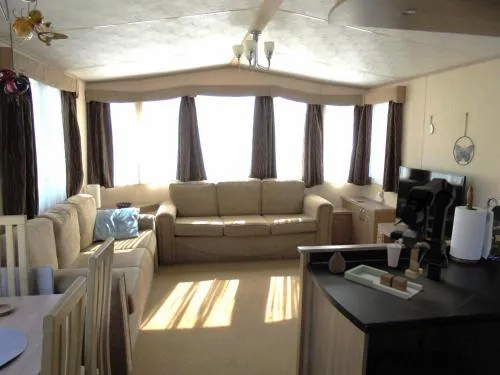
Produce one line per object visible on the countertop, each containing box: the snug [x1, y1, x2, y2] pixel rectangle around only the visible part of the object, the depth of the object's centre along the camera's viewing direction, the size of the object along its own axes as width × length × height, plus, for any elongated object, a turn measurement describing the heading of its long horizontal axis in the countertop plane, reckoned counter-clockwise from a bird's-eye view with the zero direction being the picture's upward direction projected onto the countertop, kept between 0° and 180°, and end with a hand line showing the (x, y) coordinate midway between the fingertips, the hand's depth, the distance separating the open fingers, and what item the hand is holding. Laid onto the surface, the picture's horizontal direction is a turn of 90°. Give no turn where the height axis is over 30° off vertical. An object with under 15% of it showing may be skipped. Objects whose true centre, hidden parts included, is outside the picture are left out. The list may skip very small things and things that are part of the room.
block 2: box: [392, 275, 409, 292], centre depth 142 cm, size 4×4×4 cm
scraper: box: [404, 247, 424, 279], centre depth 137 cm, size 7×4×10 cm, turn 133°
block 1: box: [380, 273, 396, 287], centre depth 145 cm, size 4×4×4 cm
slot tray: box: [344, 264, 423, 300], centre depth 147 cm, size 14×26×4 cm, turn 43°
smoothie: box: [386, 240, 402, 268], centre depth 170 cm, size 6×6×14 cm
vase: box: [328, 252, 346, 275], centre depth 160 cm, size 7×7×9 cm
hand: (414, 262), depth 137 cm, fingers closed on scraper, 2 cm apart
